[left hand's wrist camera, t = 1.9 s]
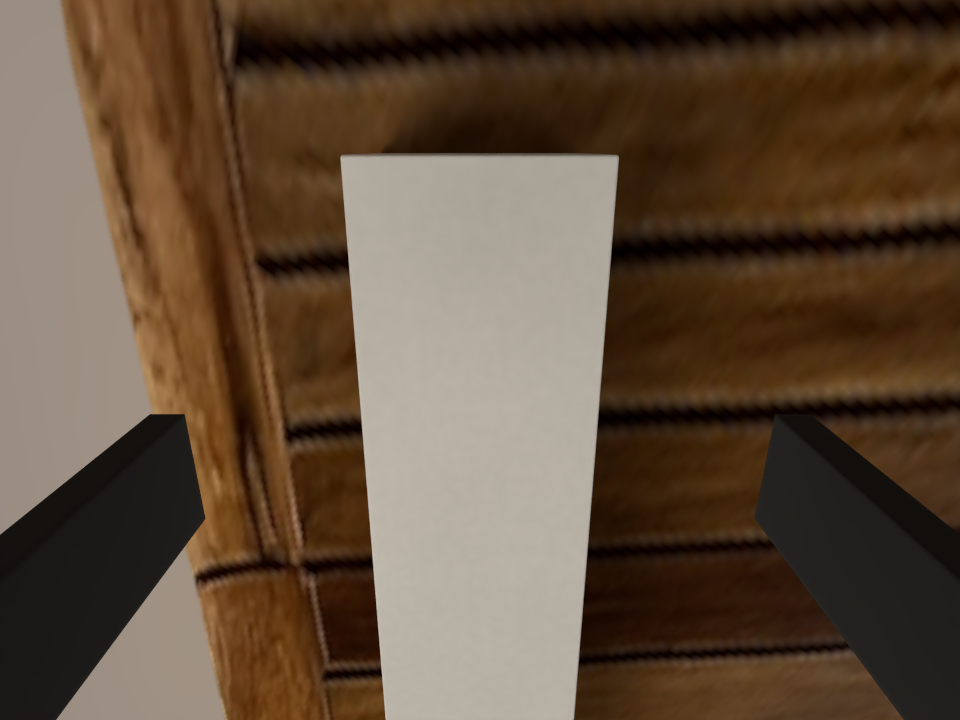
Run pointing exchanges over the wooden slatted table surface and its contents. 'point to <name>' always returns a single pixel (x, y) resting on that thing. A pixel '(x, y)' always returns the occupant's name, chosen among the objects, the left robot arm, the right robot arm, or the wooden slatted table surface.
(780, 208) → the wooden slatted table surface
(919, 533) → the left robot arm
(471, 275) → the long square beam
